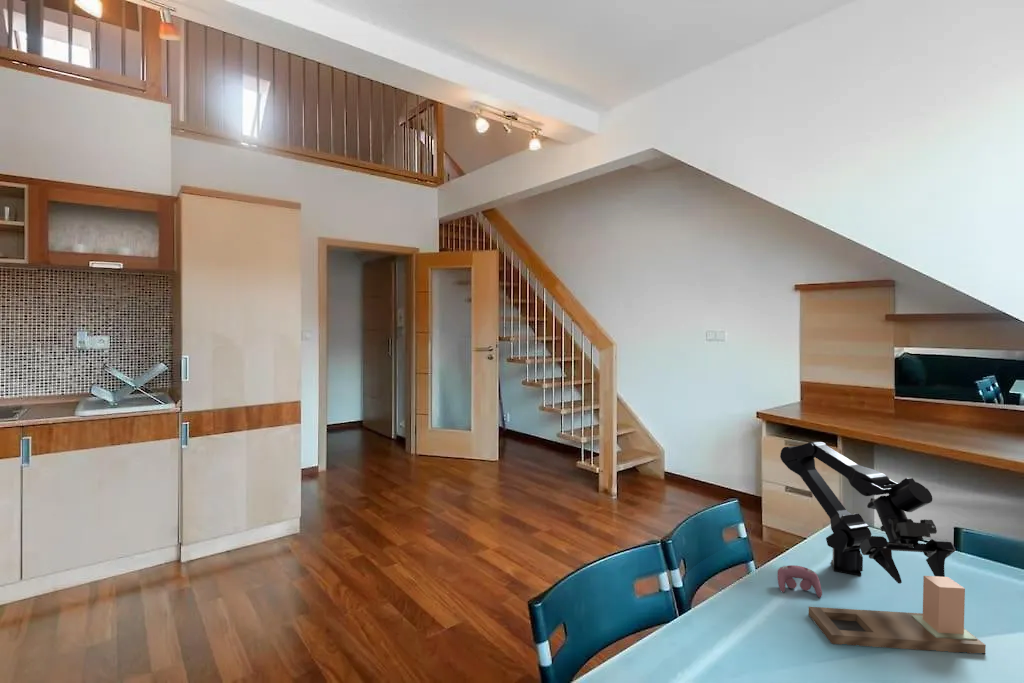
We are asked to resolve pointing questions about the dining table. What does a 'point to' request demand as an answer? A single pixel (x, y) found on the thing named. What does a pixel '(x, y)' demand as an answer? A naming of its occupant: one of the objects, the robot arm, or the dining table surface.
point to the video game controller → (794, 571)
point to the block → (943, 604)
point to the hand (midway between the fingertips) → (921, 584)
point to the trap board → (889, 630)
